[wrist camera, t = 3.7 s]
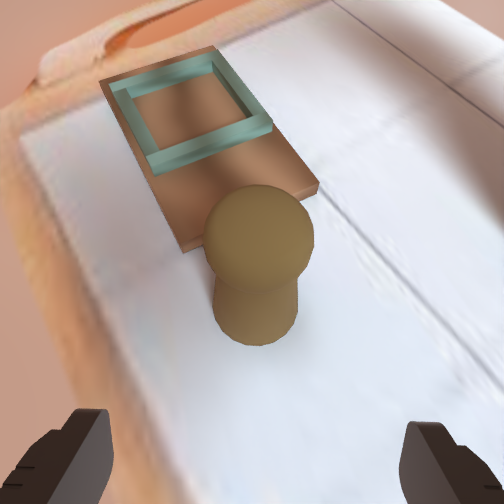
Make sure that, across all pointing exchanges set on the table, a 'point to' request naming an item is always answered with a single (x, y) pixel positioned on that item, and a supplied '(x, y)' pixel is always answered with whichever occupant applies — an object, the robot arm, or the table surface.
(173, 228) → the holder plate
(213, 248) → the cork
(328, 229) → the table surface
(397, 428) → the table surface
